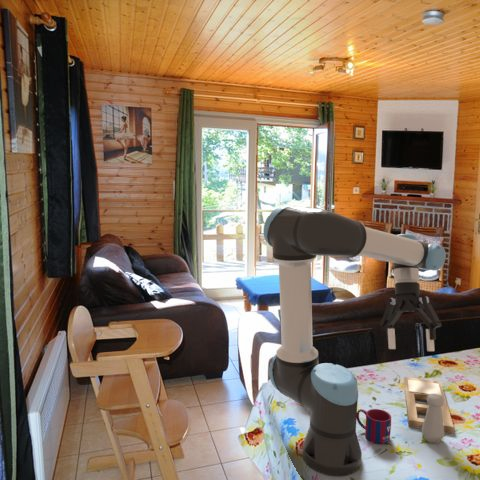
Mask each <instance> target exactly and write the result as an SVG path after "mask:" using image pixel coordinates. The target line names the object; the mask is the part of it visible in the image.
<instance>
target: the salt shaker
mask: <svg viewBox="0 0 480 480" xmlns="http://www.w3.org/2000/svg"><path fill="white" fill-rule="evenodd" d="M427 402H428V404H429V406H428V409H427V413H426V416H425V420H424V423H423V426H422V428H421V431H422V434H423V438H424V440H425V441H426V442H429V443H430V444H439V443H440V442H441V441H442V440H443V438H444V436H445V432H444V425H443V417H442V408H441V406H443V404H444V399H443V397H442V396H440V395H438V394H434V393H433V394H429V395H428V396H427Z"/></svg>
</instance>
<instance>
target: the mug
mask: <svg viewBox="0 0 480 480" xmlns="http://www.w3.org/2000/svg"><path fill="white" fill-rule="evenodd" d="M360 412H362V413H363V414H364V416H365V425H364V424H363V423H362V421H361V419H360ZM356 422H357V424H358V425H359V426H360V427H361V428H362V429H364V430H365V432H364V433H365V434H364V437H365V438H366V440H367V441H368V442H369V443H373V444H375V445H387V444H388V443H390V442H391V441H390V440H391V430H392V428H391V427H392V414H390V413H389V412H388V411H386V410H383V409H378V408H371V409H368V410H367V411H366V410H365V409H361V408H360V409H359V410H358V409H357V418H356Z"/></svg>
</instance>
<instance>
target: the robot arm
mask: <svg viewBox="0 0 480 480" xmlns="http://www.w3.org/2000/svg"><path fill="white" fill-rule="evenodd" d="M263 237H264V240H265V242H266V243H267V244H268V245H269V246H270V247H271V248H272V259H273V260H274V261H275V262H277V264H278V279H279V280H278V281H279V282H278V283H279V307H280V312H279V313H280V338H281V346H280V347H279V348H278V349H276V352H275V353H276V354H275V355H274V356H273V358H272V362H271V361H270V364H269V368H268V376H269V381H270V383H271V385H272V386H273V388H275V390H277V391H278V392H279V393H280V394H282V395H283V396H284V397H287V398H289V399H291V400H292V401H294V402H295V403H297V404H299V405H300V406H302V407H304V408H305V409H307V410H309V412H310V413H309V415H310V416H309V428H308V430H307V433H306V435H305V438H304V440H303V443H302V448H301V449H302V453H301V455H302V458H303V460H304V462H305V464H306V465H308V466H309V467H310V468H311V469H313V470H314V471H316V472H319V473H322V474H324V475H330V476H336V477H338V476H346V475H350V474H353V473H356V471H358V470H359V469H360V468H361V465H362V460H363V459H362V458H363V457H362V456H363V455H362V454H363V453H362V448H361V446H360V442H359V439H358V438H359V437H358V436H357V412H358V401H359V389H358V386H359V384H358V379H357V377H356V375H355V374H354V373H353V372H352V371H351V370H350V369H348V368H346V367H344V366H343V365H340V364H334V363H331V362H329V363H328V362H324V363H319V351H318V349H316V347H315V346H313V345H314V344H313V309H312V308H313V304H312V303H313V301H312V262H314V260H315V259H316V258H317V256H320V257H323V256H324V257H325V256H326V257H328V256H329V257H343V258H347V259H353V258H357V256H358V257H359V256H360V257H363V258H364V257H365V258H369V259H374V260H376V261H377V262H387V263H392V264H393V277H394V278H393V279H394V282H396V283H394V292H395V293H394V294H395V296H396V297H395V298H393V297H388V298H387V302H386V303H387V304H386V307H385V310H384V312H383V315H382V318H381V320H380V323H379V325H380V327H383V328H385V335H386V336H385V337H386V339H387V343H388V344H387V345H388V350H396V349H397V348H396V334H395V332H396V331H395V330H396V329H395V328H394V325H395V324H396V323H397V321H398V320H399V318H400V317H401V315H402V314H403V313H404V312H406V313H407V312H408V313H409V312H413V313H416V315H417V316H418V317H419V318H420V319H421V321H422V322H423V323H424V324H425V326H426V327H427V328H425V338H426V339H425V340H426V351H427V352H435V341H436V339H437V332H436V330H437V328H441V327H443V325H442V324H443V323H442V322H441V321H440V319H439V317H438V315H437V313H436V311H435V309H434V308H433V306H432V303H431V299H430V297H429V296H420V294H421V290H420V289H421V287H420V282H419V281H420V275H419V274H420V273H419V272H420V270H419V269H423V270H426V271H439V270H441V268H443V267H444V264H445V263H446V259H447V258H446V257H447V254H446V250H445V248H444V247H443V245H440V244H436V243H434V242H431V243H430V242H429V243H428V242H424V241H420V240H417V237H416V236H415V235H414V234H411V233H410V234H409V233H400V234H393V233H389V232H386V231H381V230H379V229H375V228H371V227H367V226H365V224H363V223H362V222H361V221H359V220H357V219H353V218H350V217H347V216H344V215H342V214H339V213H335V212H333V211H331V210H327V209H322V208H316V207H315V208H311V207H304V206H296V205H288V206H287V205H285V206H283V205H282V206H278V207H277V208H275V209H274V210H272V211H271V212H270V213H269V215H268V216H267V217H266V218H265V221H264V225H263ZM420 305H422V306H423V307H422V306H420ZM395 306H396V307H395ZM423 308H424V309H425V311H424V310H423Z"/></svg>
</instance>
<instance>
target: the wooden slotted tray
mask: <svg viewBox="0 0 480 480" xmlns="http://www.w3.org/2000/svg"><path fill="white" fill-rule="evenodd" d="M442 384H443V383H442V381H436V380H430V379H422V378H416V377H408V376H404V377H403V386H404V395H405V396H404V398H405V404H406V406H405V408H406V415H407V424H408V425H407V426H408V427H411V428H418V429H422V426H423V423H424V420H425V416H426V413H427V409H428V406H429V404H428V402H427V396H428V395H429V394H433V393H434V394H438V395H440V396H442V397H443V399H444V404H443V406H441V408H442V417H443V425H444V433H449V434H454V430H455V429H454V424H453V420H452V416H451V413H450V409H449V405H448V402H447V399H446V395H445V393H444V389H443V385H442Z"/></svg>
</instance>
